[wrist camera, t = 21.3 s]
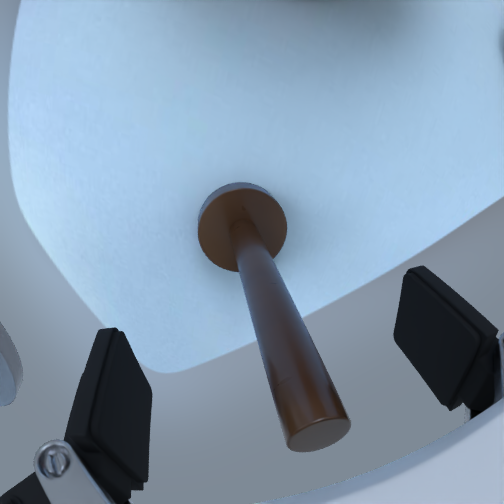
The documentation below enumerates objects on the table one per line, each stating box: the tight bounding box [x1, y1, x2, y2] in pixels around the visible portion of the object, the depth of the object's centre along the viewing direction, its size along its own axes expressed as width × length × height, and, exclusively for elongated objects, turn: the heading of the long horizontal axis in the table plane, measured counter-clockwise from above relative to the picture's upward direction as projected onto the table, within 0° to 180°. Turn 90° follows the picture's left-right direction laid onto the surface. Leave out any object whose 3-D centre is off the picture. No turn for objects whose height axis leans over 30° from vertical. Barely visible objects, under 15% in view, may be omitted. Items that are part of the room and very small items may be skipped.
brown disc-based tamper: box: [198, 182, 351, 452], centre depth 13 cm, size 5×5×15 cm
